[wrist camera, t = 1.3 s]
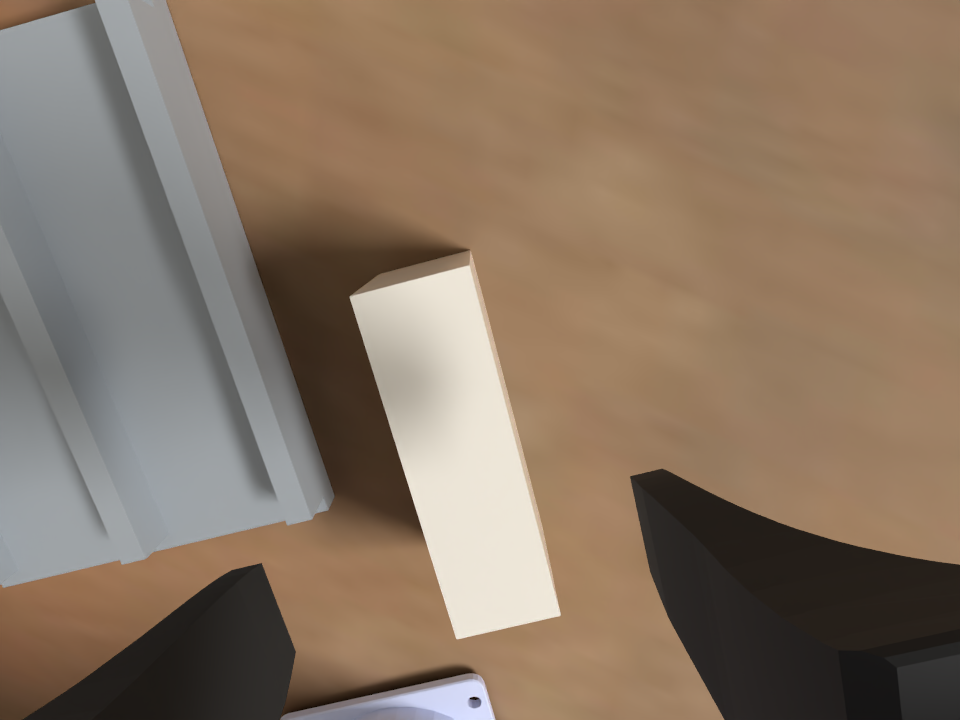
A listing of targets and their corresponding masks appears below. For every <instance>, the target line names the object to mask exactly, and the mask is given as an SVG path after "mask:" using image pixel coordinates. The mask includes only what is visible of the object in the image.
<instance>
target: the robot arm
mask: <svg viewBox="0 0 960 720" xmlns="http://www.w3.org/2000/svg"><path fill="white" fill-rule="evenodd" d="M630 478H631V483H632V488H633V493H634V497H635V502H636V507H637V512H638V516H639V521H640V526H641V531H642V535H643V540H644V545H645V549H646V554H647V559H648V564H649V568H650V572H651V575H652V577H653V580H654V582H655V585H656V588H657V590H658V593H659V595H660V598H661V600H662V603H663V605H664V608H665V610H666V612H667V615H668V617H669V619H670V621H671V623H672V625H673V627H674V629H675V631H676V632H677V634H678V636H679V638H680V640H681V642H682V643H683V645H684V647H685V649H686V651H687V653H688V654H689V656H690V658H691V660H692V662H693V663H694V665H695V667H696V669H697V671H698V672H699V674H700V676H701V678H702V680H703V681H704V683H705V685H706V687H707V689H708V691H709V692H710V694H711V696H712V698H713V700H714V701H715V703H716V705H717V707H718V709H719V710H720V712H721V714H722V716H723V718H724V719H725V720H960V565H957V564H950V563H942V562H935V561H929V560H923V559H917V558H911V557H905V556H900V555H895V554H890V553H886V552H881V551H876V550H872V549H867V548H862V547H858V546H854V545H850V544H846V543H842V542H838V541H834V540H831V539H828V538H824V537H821V536H818V535H814V534H811V533H808V532H805V531H801V530H798V529H795V528H792V527H789V526H787V525H784V524H781V523H778V522H776V521H773V520H771V519H768V518H766V517H763V516H761V515H758V514H756V513H753V512H751V511H748V510H746V509H744V508H742V507H739V506H737V505H735V504H733V503H730V502H728V501H726V500H724V499H722V498H720V497H718V496H716V495H714V494H712V493H710V492H708V491H706V490H704V489H702V488H700V487H698V486H696V485H694V484H692V483H690V482H688V481H686V480H684V479H682V478H680V477H678V476H677V475H675V474H673V473H671V472H669V471H666V470H664V469H659V470H655V471H651V472H647V473H642V474H638V475H634V476H630ZM295 653H296V651H295V649H294V646H293V643H292V641H291V638H290V636H289V633H288V630H287V628H286V625H285V623H284V620H283V618H282V615H281V612H280V610H279V607H278V605H277V602H276V599H275V597H274V594H273V592H272V589H271V586H270V584H269V581H268V579H267V576H266V574H265V571H264V568H263V566H262V563H261V564H256V565H252V566H248V567H244V568H239V569H235V570H231V571H230V572H228V573H226V574H224V575H223V576H221V577H220V578H218V579H216V580H215V581H214V582H212V583H211V584H209V585H208V586H207V587H205V588H204V589H202V590H201V591H200V592H198V593H197V594H196V595H194V596H193V597H192V598H190V599H189V600H188V601H187V602H185V603H184V604H183V605H181V606H180V607H179V608H177V609H176V610H175V611H174V612H172V613H171V614H170V615H168V616H167V617H166V618H165V619H163V620H162V621H161V622H159V623H158V624H157V625H156V626H154V627H153V628H152V629H150V630H149V631H148V632H147V633H145V634H144V635H143V636H141V637H140V638H139V639H137V640H136V641H135V642H133V643H132V644H131V645H129V646H128V647H127V648H125V649H124V650H123V651H121V652H120V653H119V654H117V655H116V656H114V657H113V658H112V659H110V660H109V661H108V662H106V663H105V664H104V665H102V666H101V667H100V668H98V669H97V670H95V671H94V672H93V673H91V674H90V675H89V676H87V677H86V678H85V679H83V680H82V681H80V682H79V683H77V684H76V685H75V686H73V687H72V688H70V689H69V690H67V691H66V692H64V693H63V694H61V695H60V696H58V697H57V698H55V699H54V700H52V701H51V702H49V703H48V704H46V705H45V706H43V707H41V708H40V709H38V710H37V711H35V712H34V713H32V714H30V715H29V716H27V717H26V718H24V719H23V720H495V716H494V713H493V710H492V706H491V703H490V700H489V696H488V693H487V690H486V686H485V683H484V681H483V679H482V677H480V676H479V675H477V674H474V673H468V674H463V675H459V676H454V677H450V678H445V679H441V680H436V681H432V682H427V683H423V684H418V685H414V686H409V687H405V688H400V689H396V690H391V691H387V692H382V693H378V694H373V695H369V696H364V697H360V698H355V699H350V700H346V701H341V702H337V703H332V704H328V705H323V706H319V707H314V708H310V709H305V710H301V711H296V712H292V713H288V714H285V715H284V716H283V717H282V718H281V719H280V717H281V714H282V711H283V708H284V705H285V701H286V697H287V692H288V688H289V684H290V679H291V674H292V669H293V663H294V658H295ZM471 697H478V698H479V699H477V700H471V699H469V698H471Z"/></svg>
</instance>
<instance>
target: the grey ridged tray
mask: <svg viewBox="0 0 960 720" xmlns="http://www.w3.org/2000/svg"><path fill="white" fill-rule="evenodd" d="M95 2H96V3H93V4H90V5H86V6H83V7H80V8H76V9H73V10H69V11H66V12H62V13H59V14H55V15H52V16H48V17H45V18H41V19H38V20H35V21H31V22H28V23H24V24H21V25H17V26H14V27H10V28H7V29H3V30H0V585H1V584H2V586H3V588H4V587H9V586H13V585H17V584H21V583H25V582H30V581H34V580H38V579H42V578H46V577H50V576H55V575H59V574H63V573H67V572H71V571H76V570H80V569H84V568H88V567H92V566H97V565H101V564H105V563H109V562H113V561H118V560H120V561H121V564H122V565H123V564H127V563H131V562H135V561H139V560H144V559H146V558H147V557H148V556H149V555H150V554H151V553H152V552H155V551H160V550H164V549H168V548H172V547H176V546H180V545H185V544H189V543H193V542H197V541H201V540H206V539H210V538H214V537H218V536H222V535H227V534H231V533H235V532H239V531H243V530H248V529H252V528H256V527H260V526H264V525H269V524H273V523H277V522H281V521H286V523H287V525H291V524H295V523H299V522H303V521H307V520H312V519H313V517H314V515H315V513H319V512H323V511H327V510H329V508H330V505H331V503H332V501H333V499H334V497H335V496H334V493H333V490H332V487H331V484H330V481H329V478H328V475H327V472H326V469H325V466H324V463H323V460H322V457H321V455H320V452H319V449H318V446H317V443H316V440H315V437H314V434H313V431H312V428H311V425H310V422H309V419H308V416H307V413H306V411H305V408H304V405H303V402H302V399H301V396H300V393H299V390H298V387H297V384H296V381H295V378H294V375H293V372H292V369H291V367H290V364H289V361H288V358H287V355H286V352H285V349H284V346H283V343H282V340H281V337H280V334H279V331H278V328H277V325H276V323H275V320H274V317H273V314H272V311H271V308H270V305H269V302H268V299H267V296H266V293H265V290H264V287H263V284H262V281H261V279H260V276H259V273H258V270H257V267H256V264H255V261H254V258H253V255H252V252H251V249H250V246H249V243H248V240H247V238H246V235H245V232H244V229H243V226H242V223H241V220H240V217H239V214H238V211H237V208H236V205H235V202H234V199H233V196H232V194H231V191H230V188H229V185H228V182H227V179H226V176H225V173H224V170H223V167H222V164H221V161H220V158H219V155H218V152H217V150H216V147H215V144H214V141H213V138H212V135H211V132H210V129H209V126H208V123H207V120H206V117H205V114H204V111H203V108H202V106H201V103H200V100H199V97H198V94H197V91H196V88H195V85H194V82H193V79H192V76H191V73H190V70H189V67H188V64H187V62H186V59H185V56H184V53H183V50H182V47H181V44H180V41H179V38H178V35H177V32H176V29H175V26H174V23H173V20H172V18H171V15H170V12H169V9H168V6H167V3H166V0H95Z"/></svg>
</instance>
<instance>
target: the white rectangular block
mask: <svg viewBox="0 0 960 720" xmlns="http://www.w3.org/2000/svg"><path fill="white" fill-rule="evenodd" d="M349 297H350V300H351V303H352V306H353V310H354V313H355V316H356V319H357V322H358V326H359V329H360V332H361V335H362V338H363V342H364V345H365V348H366V351H367V354H368V358H369V361H370V364H371V367H372V370H373V374H374V377H375V380H376V383H377V386H378V390H379V393H380V396H381V399H382V402H383V406H384V409H385V412H386V415H387V418H388V422H389V425H390V428H391V431H392V434H393V438H394V441H395V444H396V447H397V450H398V454H399V457H400V460H401V463H402V466H403V470H404V473H405V476H406V479H407V482H408V486H409V489H410V492H411V495H412V498H413V502H414V505H415V508H416V511H417V514H418V518H419V521H420V524H421V527H422V530H423V534H424V537H425V540H426V543H427V546H428V550H429V553H430V556H431V559H432V562H433V566H434V569H435V572H436V575H437V578H438V581H439V585H440V588H441V591H442V594H443V597H444V601H445V604H446V607H447V610H448V613H449V617H450V620H451V623H452V626H453V629H454V633H455V636H456V639H461V638H465V637H469V636H474V635H478V634H483V633H487V632H491V631H496V630H500V629H504V628H509V627H513V626H518V625H522V624H526V623H531V622H535V621H540V620H544V619H548V618H553V617H557V616H561V614H560V609H559V604H558V600H557V595H556V590H555V585H554V580H553V576H552V571H551V566H550V561H549V556H548V552H547V547H546V542H545V537H544V532H543V528H542V524H541V520H540V516H539V512H538V508H537V504H536V500H535V497H534V493H533V489H532V485H531V481H530V477H529V473H528V470H527V466H526V462H525V458H524V454H523V450H522V446H521V443H520V439H519V435H518V431H517V427H516V423H515V419H514V416H513V412H512V408H511V404H510V400H509V396H508V392H507V389H506V385H505V381H504V377H503V373H502V369H501V365H500V362H499V358H498V354H497V350H496V346H495V342H494V338H493V334H492V331H491V327H490V323H489V319H488V315H487V311H486V307H485V304H484V300H483V296H482V292H481V288H480V284H479V280H478V277H477V273H476V269H475V265H474V261H473V257H472V253H471V250H469V251H465V252H461V253H458V254H454V255H450V256H446V257H442V258H439V259H435V260H431V261H427V262H423V263H419V264H416V265H412V266H408V267H404V268H400V269H397V270H393V271H389V272H385V273H381V274H379V275H377V276H376V277H375V278H373V279H372V280H371V281H369V282H368V283H367V284H365V285H364V286H363V287H361V288H360V289H359V290H357V291H356V292H355V293H353V294H352V295H351V296H349Z"/></svg>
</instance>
